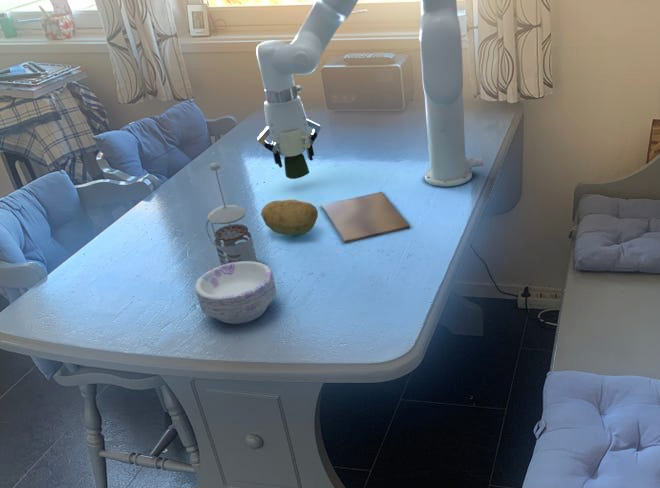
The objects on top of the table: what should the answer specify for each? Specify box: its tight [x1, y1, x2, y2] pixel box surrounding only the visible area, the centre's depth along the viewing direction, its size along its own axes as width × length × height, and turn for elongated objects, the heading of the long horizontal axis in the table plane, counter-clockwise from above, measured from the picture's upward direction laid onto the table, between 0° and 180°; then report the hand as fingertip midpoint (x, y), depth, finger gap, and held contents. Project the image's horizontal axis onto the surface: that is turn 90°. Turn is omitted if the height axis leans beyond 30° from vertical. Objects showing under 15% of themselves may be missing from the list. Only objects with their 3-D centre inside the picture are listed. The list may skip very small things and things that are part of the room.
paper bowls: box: [194, 261, 277, 325], centre depth 152 cm, size 15×15×8 cm
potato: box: [260, 199, 319, 236], centre depth 179 cm, size 10×14×8 cm
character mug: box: [278, 129, 310, 180], centre depth 197 cm, size 11×7×13 cm, turn 70°
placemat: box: [321, 191, 411, 244], centre depth 186 cm, size 16×22×1 cm
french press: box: [205, 162, 258, 266], centre depth 161 cm, size 10×12×25 cm
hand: (295, 162), depth 199 cm, fingers closed on character mug, 7 cm apart
